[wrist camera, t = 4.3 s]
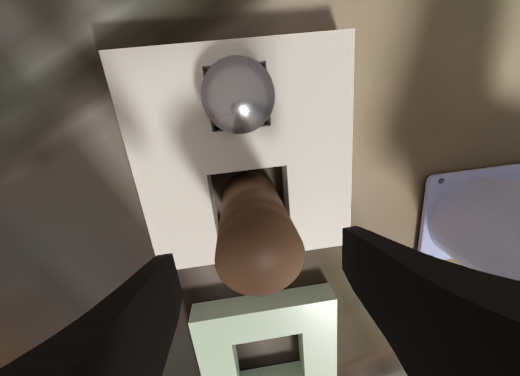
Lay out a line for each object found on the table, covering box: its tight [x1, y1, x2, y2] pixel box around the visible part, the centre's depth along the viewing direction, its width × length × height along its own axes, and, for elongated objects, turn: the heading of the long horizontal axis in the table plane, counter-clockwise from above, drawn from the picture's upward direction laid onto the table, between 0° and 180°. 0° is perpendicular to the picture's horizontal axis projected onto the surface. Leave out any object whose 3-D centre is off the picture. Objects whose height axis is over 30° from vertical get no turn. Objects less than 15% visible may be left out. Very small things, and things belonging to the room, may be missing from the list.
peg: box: [215, 171, 305, 296], centre depth 14 cm, size 4×4×8 cm
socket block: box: [98, 28, 355, 269], centre depth 16 cm, size 14×14×2 cm
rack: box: [188, 283, 337, 376], centre depth 22 cm, size 12×12×2 cm
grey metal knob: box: [201, 55, 275, 134], centre depth 14 cm, size 4×4×3 cm
